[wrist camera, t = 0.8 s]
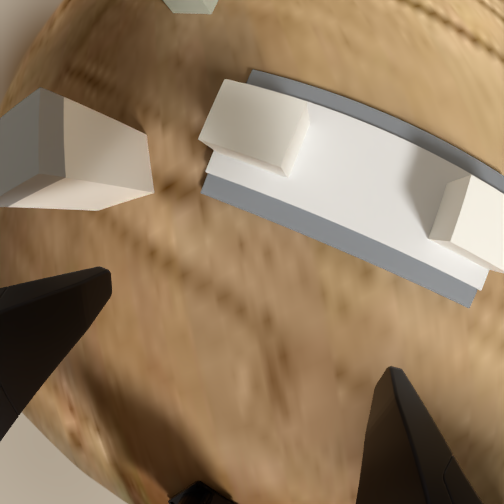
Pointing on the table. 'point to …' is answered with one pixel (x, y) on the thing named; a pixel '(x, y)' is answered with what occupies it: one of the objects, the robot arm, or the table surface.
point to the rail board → (356, 182)
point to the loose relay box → (191, 6)
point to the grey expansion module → (69, 156)
